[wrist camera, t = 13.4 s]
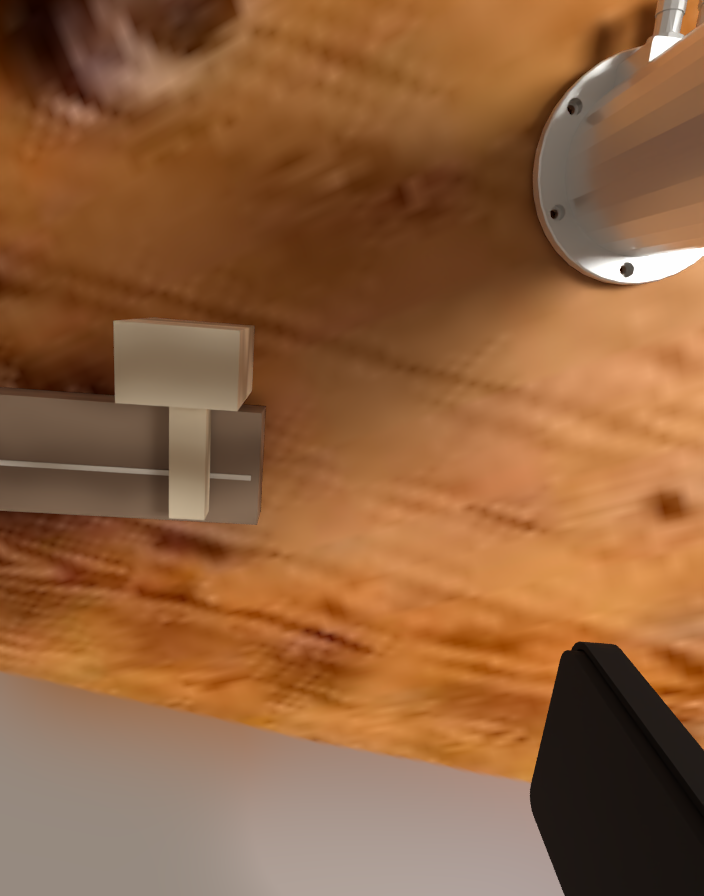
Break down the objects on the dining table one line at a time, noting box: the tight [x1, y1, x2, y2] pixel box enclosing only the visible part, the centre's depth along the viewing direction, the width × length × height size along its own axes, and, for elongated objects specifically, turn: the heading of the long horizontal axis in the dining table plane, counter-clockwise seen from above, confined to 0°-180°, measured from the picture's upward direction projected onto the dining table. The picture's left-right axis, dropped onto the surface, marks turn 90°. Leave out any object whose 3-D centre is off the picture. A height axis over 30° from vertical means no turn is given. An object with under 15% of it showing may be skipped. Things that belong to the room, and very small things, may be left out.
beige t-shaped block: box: [113, 318, 255, 520], centre depth 32 cm, size 11×6×7 cm, turn 175°
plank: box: [0, 387, 266, 525], centre depth 34 cm, size 7×24×2 cm, turn 85°
